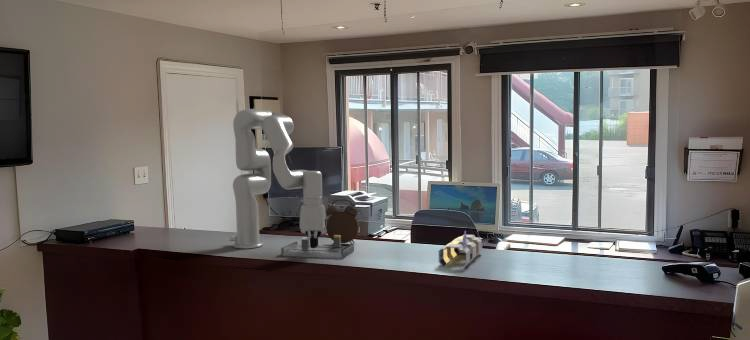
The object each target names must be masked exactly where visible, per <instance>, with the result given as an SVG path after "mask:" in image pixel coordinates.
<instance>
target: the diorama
mask: <svg viewBox="0 0 750 340" xmlns="http://www.w3.org/2000/svg"><path fill="white" fill-rule="evenodd" d="M463 232H464V233H463V235H461V236H458V237H456V238H454V239H453V240H452V241H450V242H449V243H447V244H446V245H444V246H443V247H441V248H440V249H439V250H438V264H439V265H440V266H441V267H442V268H443V267H444V266H445V265H446V264H448V263H449V262H450V261H451V260H453V259H454V258H455V257H456V256H458V255H459V254H465V264H464V265H463V266H462V269H465V268H466V267H468V264H469V263H472V262H473V260H474V259H475V257H478V256H479V255H480V253H482V251H483V246H482V245H483V240H482V238H480V237H476V236H475V234H467V231H466V230H464V231H463Z"/></svg>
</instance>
